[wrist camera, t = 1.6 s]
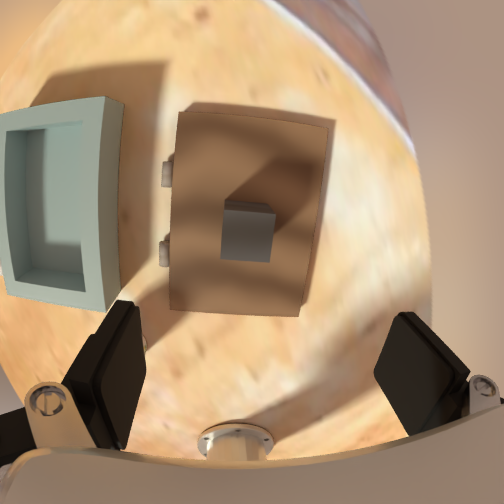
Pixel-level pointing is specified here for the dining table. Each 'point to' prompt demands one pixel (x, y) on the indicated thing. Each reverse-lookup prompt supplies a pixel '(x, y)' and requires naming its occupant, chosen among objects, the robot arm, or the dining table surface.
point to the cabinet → (61, 202)
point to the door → (241, 213)
